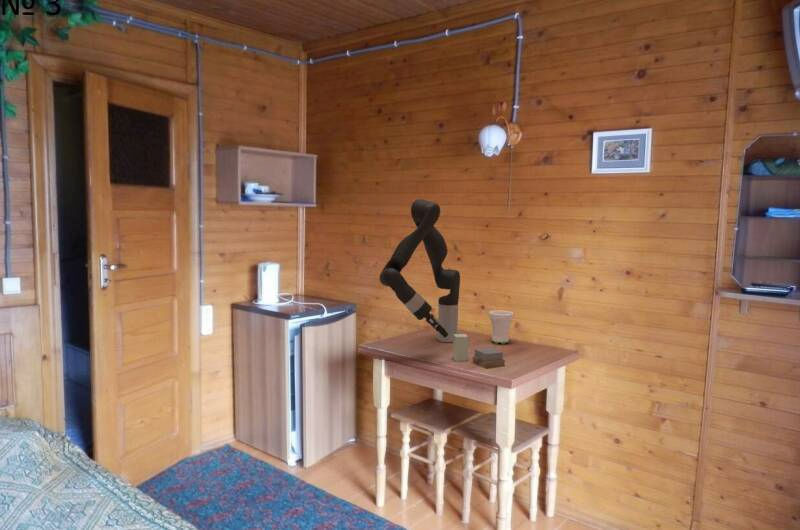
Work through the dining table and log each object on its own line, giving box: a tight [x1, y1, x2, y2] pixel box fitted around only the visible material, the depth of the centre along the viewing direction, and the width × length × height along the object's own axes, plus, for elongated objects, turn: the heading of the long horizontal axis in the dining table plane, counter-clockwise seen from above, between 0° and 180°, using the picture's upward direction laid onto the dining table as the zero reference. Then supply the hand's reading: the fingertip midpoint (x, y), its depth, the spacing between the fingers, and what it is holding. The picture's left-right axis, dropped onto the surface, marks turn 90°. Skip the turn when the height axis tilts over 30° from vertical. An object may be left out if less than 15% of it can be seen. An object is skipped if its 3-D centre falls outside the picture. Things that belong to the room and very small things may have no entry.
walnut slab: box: [472, 356, 506, 370], centre depth 231 cm, size 9×9×3 cm
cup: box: [488, 309, 514, 345], centre depth 267 cm, size 11×11×14 cm
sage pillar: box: [452, 333, 469, 362], centre depth 237 cm, size 5×5×10 cm
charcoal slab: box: [474, 347, 504, 362], centre depth 231 cm, size 8×8×3 cm
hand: (445, 333), depth 236 cm, fingers open, 8 cm apart
